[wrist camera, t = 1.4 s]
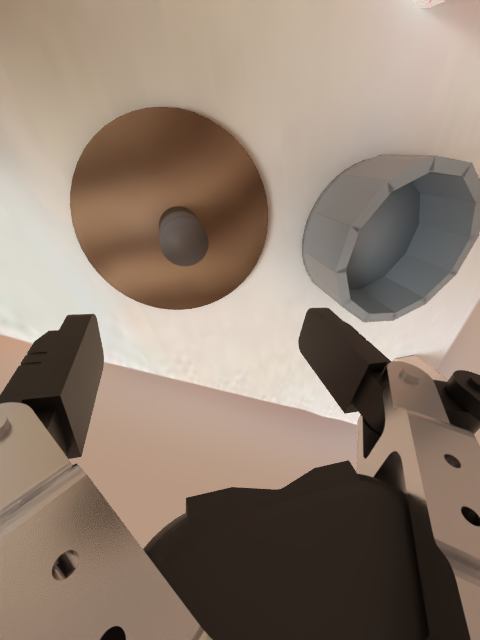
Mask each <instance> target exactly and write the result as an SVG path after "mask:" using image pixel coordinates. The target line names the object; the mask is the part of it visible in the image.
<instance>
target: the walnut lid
mask: <svg viewBox="0 0 480 640" xmlns="http://www.w3.org/2000/svg"><path fill="white" fill-rule="evenodd" d="M70 208H71V216H72V222H73V226H74V229H75V233H76V236H77V239H78V241H79V243H80V246H81V248H82V250H83V252H84V253H85V255H86V257H87V259H88V260H89V262H90V263H91V264H92V266H93V267H94V268H95V270H96V271H97V272H98V273H99V274H100V275H101V276H102V277H103V278H104V279H105V280H106V281H107V282H108V283H109V284H110V285H111V286H113V287H114V288H115V289H116V290H118V291H119V292H121V293H123V294H124V295H126V296H127V297H129V298H131V299H133V300H135V301H138V302H140V303H143V304H146V305H149V306H153V307H157V308H163V309H173V310H182V309H192V308H197V307H201V306H204V305H207V304H210V303H213V302H215V301H217V300H219V299H221V298H223V297H224V296H226V295H228V294H229V293H230V292H232V291H233V290H234V289H236V288H237V287H238V286H239V285H240V284H241V283H242V282H243V281H244V280H245V279H246V277H247V276H248V275H249V274H250V272H251V271H252V269H253V268H254V266H255V265H256V263H257V261H258V259H259V256H260V254H261V252H262V249H263V246H264V243H265V238H266V234H267V225H268V207H267V200H266V194H265V190H264V186H263V183H262V180H261V178H260V175H259V173H258V170H257V169H256V167H255V165H254V163H253V161H252V159H251V158H250V156H249V155H248V154H247V152H246V151H245V149H244V148H243V147H242V146H241V145H240V144H239V142H238V141H237V140H236V139H235V138H234V137H233V136H232V135H231V134H229V133H228V132H227V131H226V130H225V129H223V128H222V127H221V126H219V125H218V124H216V123H214V122H213V121H211V120H209V119H208V118H205V117H203V116H201V115H198V114H196V113H194V112H190V111H186V110H182V109H178V108H168V107H154V108H145V109H141V110H136V111H132V112H130V113H127V114H125V115H123V116H120V117H118V118H116V119H115V120H113V121H112V122H110V123H109V124H107V125H106V126H104V127H103V128H102V129H101V130H100V131H99V132H98V133H97V134H96V135H95V136H94V137H93V138H92V140H91V141H90V142H89V144H88V145H87V146H86V148H85V149H84V151H83V153H82V155H81V157H80V159H79V160H78V162H77V165H76V169H75V172H74V175H73V179H72V185H71V192H70Z"/></svg>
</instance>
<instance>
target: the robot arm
mask: <svg viewBox="0 0 480 640" xmlns="http://www.w3.org/2000/svg"><path fill="white" fill-rule="evenodd" d="M299 349H300V352H301V353H302V355H303V356H304V358H305V359H306V360H307V362H308V363H309V365H310V366H311V367H312V369H313V370H314V371H315V373H316V374H317V376H318V377H319V378H320V380H321V381H322V383H323V384H324V385H325V387H326V388H327V390H328V391H329V392H330V394H331V395H332V396H333V398H334V399H335V401H336V402H337V403H338V405H339V406H340V408H341V409H342V410H343V412H344V413H351V412H357V411H359V413H360V414H361V415H360V417H359V419H358V462H357V471H355V470H354V468H353V466H352V465H351V463H350V462H349V461H344V462H340V463H335V464H331V465H327V466H323V467H318V468H314V469H312V470H311V471H309V472H308V473H306V474H305V475H303V476H301V477H300V478H298V479H297V480H295V481H293V482H292V483H290V484H289V485H287V486H285V487H284V488H282V489H278V490H271V489H252V488H235V487H231V488H227V489H223V490H218V491H214V492H210V493H206V494H201V495H197V496H193V497H188V498H186V513H185V514H183V515H181V516H179V517H178V518H176V519H175V520H173V521H172V522H171V523H169V524H168V525H167V526H165V527H164V528H163V529H162V530H161V531H160V532H159V533H158V534H157V535H156V536H155V537H153V538H152V540H151V541H150V542H149V543H148V544H147V545H146V547H145V548H144V549H142V548H141V546H140V545H139V544H138V542H137V541H136V540H135V538H134V537H133V536H132V534H131V533H130V532H129V530H128V529H127V528H126V526H125V525H124V524H123V522H122V521H121V520H120V518H119V517H118V516H117V514H116V513H115V512H114V511H113V509H112V508H111V506H110V505H109V504H108V502H107V501H106V500H105V498H104V497H103V496H102V494H101V493H100V492H99V490H98V489H97V488H96V486H95V485H94V484H93V482H92V481H91V480H90V478H89V477H88V476H87V474H86V473H85V472H84V471H83V469H82V468H81V467H80V466H79V465H78V464H75V465H73V464H72V463H71V462H70V461H69V459H71V458H76V457H81V456H82V452H83V448H84V444H85V439H86V435H87V431H88V427H89V423H90V419H91V415H92V411H93V407H94V403H95V398H96V394H97V390H98V386H99V383H100V379H101V374H102V370H103V363H104V355H103V348H102V343H101V338H100V333H99V328H98V323H97V318H96V316H95V315H94V314H80V315H68V316H67V317H66V318H65V320H64V322H63V324H62V326H61V328H60V329H59V330H58V331H48V332H47V333H46V334H44V335H43V336H41V337H40V338H39V339H37V340H36V341H35V342H34V343H33V345H32V347H31V348H30V350H29V351H28V354H27V355H26V356H25V357H24V359H23V361H22V362H21V366H19V367H18V368H17V370H16V371H15V373H14V375H13V376H12V378H11V379H10V381H9V383H8V384H7V386H6V387H5V389H4V390H3V392H2V393H1V395H0V640H480V446H479V444H478V442H477V440H476V438H475V436H474V434H475V433H476V432H477V430H478V429H479V428H480V375H478V374H475V373H472V372H469V371H463V370H460V371H456V372H454V373H453V375H452V376H451V377H450V379H449V380H448V381H447V382H446V381H439V380H433V379H432V378H431V377H430V376H429V375H428V374H427V373H426V372H424V371H423V370H421V369H420V368H418V367H416V366H414V365H412V364H409V363H406V362H401V361H393V362H391V361H390V360H389V359H388V358H387V357H385V356H384V355H383V354H382V353H381V352H380V351H379V350H378V349H377V348H375V347H374V346H373V345H372V344H371V343H370V342H369V341H368V340H367V341H366V339H365V338H364V337H363V336H362V335H361V334H359V332H357V331H356V330H355V329H354V328H353V327H352V326H351V325H349V324H347V323H346V322H344V321H342V320H341V319H340V318H339V317H338V316H337V315H336V314H335V313H333V312H332V311H331V310H330V309H329V308H310V309H309V310H308V311H307V313H306V316H305V319H304V323H303V326H302V330H301V333H300V337H299Z"/></svg>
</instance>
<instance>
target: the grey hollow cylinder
mask: <svg viewBox="0 0 480 640" xmlns="http://www.w3.org/2000/svg"><path fill="white" fill-rule="evenodd" d="M479 231H480V179H479V177H478V175H477V173H476V171H475V168H474V166H473V164H472V163H470V162H465V161H459V160H454V159H449V158H444V157H438V156H410V155H379V156H377V157H375V158H371V159H367V160H363V161H361V162H359V163H357V164H354V165H353V166H351V167H349V168H348V169H346V170H345V171H343V172H342V173H341V174H340V175H338V176H337V177H336V178H335V179H334V180H333V181H332V182H331V183H330V184H329V185H328V186H327V187H326V189H325V190H324V191H323V192H322V194H321V195H320V197H319V198H318V200H317V201H316V203H315V205H314V207H313V208H312V210H311V213H310V215H309V217H308V220H307V223H306V226H305V230H304V235H303V242H302V256H303V261H304V265H305V268H306V271H307V273H308V275H309V276H310V278H311V280H312V282H313V283H314V284H316V285H317V286H318V287H319V288H320V289H322V290H323V291H324V292H325V293H326V294H328V295H329V296H330V297H331V298H332V299H334V300H335V301H336V302H337V303H338V304H340V305H341V306H342V307H343V308H345V309H346V310H348V311H349V312H350V313H352V314H353V315H354V316H356V317H357V318H359V319H360V320H361V321H363V322H375V321H393V320H395V319H397V318H399V317H401V316H403V315H405V314H407V313H409V312H411V311H413V310H415V309H417V308H419V307H420V306H422V305H424V304H426V303H427V302H428V301H429V300H430V299H431V298H432V297H433V296H434V295H435V294H436V293H437V292H438V291H439V290H441V289H442V288H443V287H444V286H445V285H446V284H447V283H448V282H449V281H450V280H451V279H452V278H453V277H454V276H455V275H456V274H457V272H458V270H459V269H460V267H461V265H462V263H463V262H464V260H465V258H466V257H467V255H468V253H469V251H470V250H471V248H472V246H473V245H474V243H475V241H476V239H477V238H478V236H479Z"/></svg>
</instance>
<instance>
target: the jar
mask: <svg viewBox="0 0 480 640" xmlns="http://www.w3.org/2000/svg"><path fill="white" fill-rule="evenodd" d="M394 361H401V362H406V363H409V364H412V365H414V366H416V367H418V368H420V369H421V370H423V371H424V372H426V373H427V374H428V375H429V376H430V377H431V378H432V379H433V380H439V381H446V382H447V381H448V380H447V379H446V378H445V377H443V376H442V375H441V374H440V373H439V372H437V371H436V370H435V369H433V368H432V367H431V366H430V365H428V364H427V363H426V362H424V361H423V360H422V359H421V358H419V357H418V356H417V355H414V356H408V357H403V358H398V359H395V360H394Z"/></svg>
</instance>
